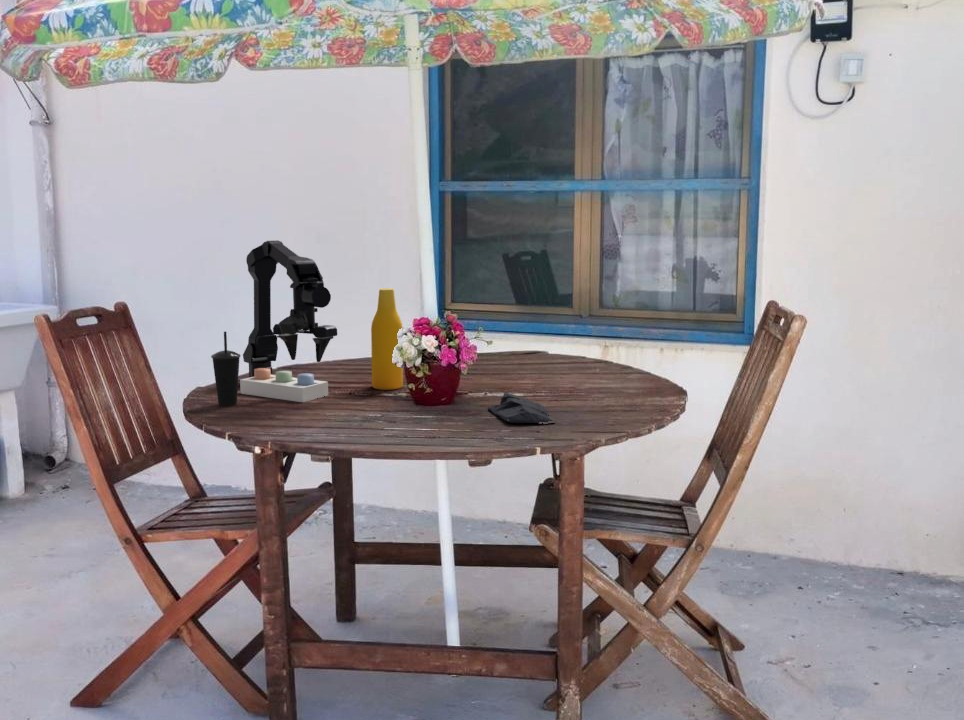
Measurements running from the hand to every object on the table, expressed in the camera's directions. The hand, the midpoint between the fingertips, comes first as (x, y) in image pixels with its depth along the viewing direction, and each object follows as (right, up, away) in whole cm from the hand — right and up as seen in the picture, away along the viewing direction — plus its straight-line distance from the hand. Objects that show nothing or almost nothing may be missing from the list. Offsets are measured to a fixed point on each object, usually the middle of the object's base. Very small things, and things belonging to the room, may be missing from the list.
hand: (305, 360), depth 299 cm
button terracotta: (-14, -7, +9) cm, 18 cm away
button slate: (0, -9, +1) cm, 9 cm away
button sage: (-7, -8, +5) cm, 12 cm away
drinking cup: (-20, -12, -8) cm, 25 cm away
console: (-7, -10, +6) cm, 13 cm away
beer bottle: (+21, -8, +18) cm, 29 cm away
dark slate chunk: (+59, -15, -19) cm, 64 cm away
